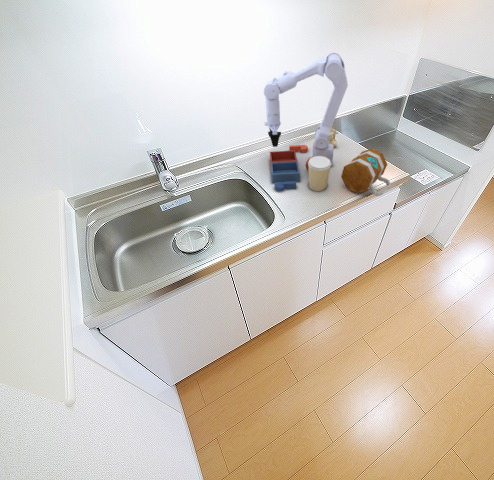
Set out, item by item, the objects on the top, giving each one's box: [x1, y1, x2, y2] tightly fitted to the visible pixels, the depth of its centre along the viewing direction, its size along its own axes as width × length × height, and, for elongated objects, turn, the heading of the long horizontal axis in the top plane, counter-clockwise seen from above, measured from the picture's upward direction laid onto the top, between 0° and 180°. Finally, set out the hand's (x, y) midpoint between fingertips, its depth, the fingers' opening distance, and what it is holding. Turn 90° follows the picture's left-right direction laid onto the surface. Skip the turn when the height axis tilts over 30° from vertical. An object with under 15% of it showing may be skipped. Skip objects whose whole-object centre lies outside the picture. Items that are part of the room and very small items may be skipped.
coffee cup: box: [308, 156, 332, 192], centre depth 116 cm, size 9×9×12 cm
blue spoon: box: [274, 181, 297, 193], centre depth 118 cm, size 9×4×3 cm, turn 95°
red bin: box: [269, 150, 298, 164], centre depth 130 cm, size 9×12×4 cm
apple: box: [305, 156, 312, 173], centre depth 124 cm, size 8×8×8 cm
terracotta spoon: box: [288, 144, 309, 154], centre depth 138 cm, size 9×4×3 cm, turn 95°
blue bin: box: [270, 160, 301, 184], centre depth 123 cm, size 9×12×4 cm
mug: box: [340, 147, 392, 197], centre depth 116 cm, size 20×14×15 cm
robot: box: [328, 126, 339, 149], centre depth 138 cm, size 10×8×15 cm
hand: (274, 142), depth 127 cm, fingers open, 7 cm apart
